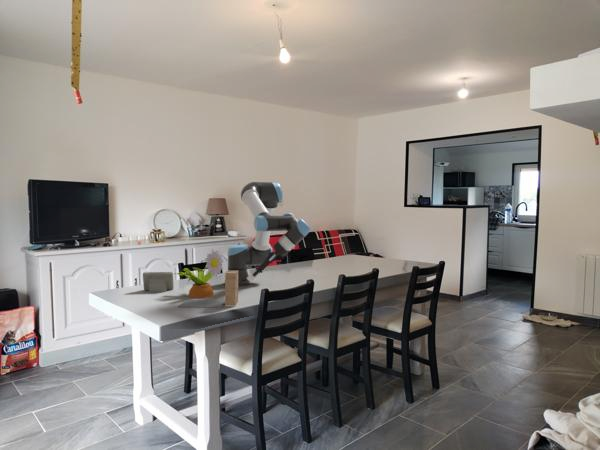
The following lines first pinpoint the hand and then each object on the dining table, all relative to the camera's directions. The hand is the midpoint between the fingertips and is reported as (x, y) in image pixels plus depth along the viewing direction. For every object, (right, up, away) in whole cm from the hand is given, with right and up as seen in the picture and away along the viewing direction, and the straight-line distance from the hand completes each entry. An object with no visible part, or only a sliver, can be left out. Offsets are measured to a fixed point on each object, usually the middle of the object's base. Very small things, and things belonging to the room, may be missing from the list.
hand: (248, 279), depth 207 cm
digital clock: (-54, -10, +30) cm, 62 cm away
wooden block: (-8, -12, +1) cm, 15 cm away
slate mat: (-22, -12, +1) cm, 25 cm away
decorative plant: (-28, -11, +21) cm, 37 cm away
